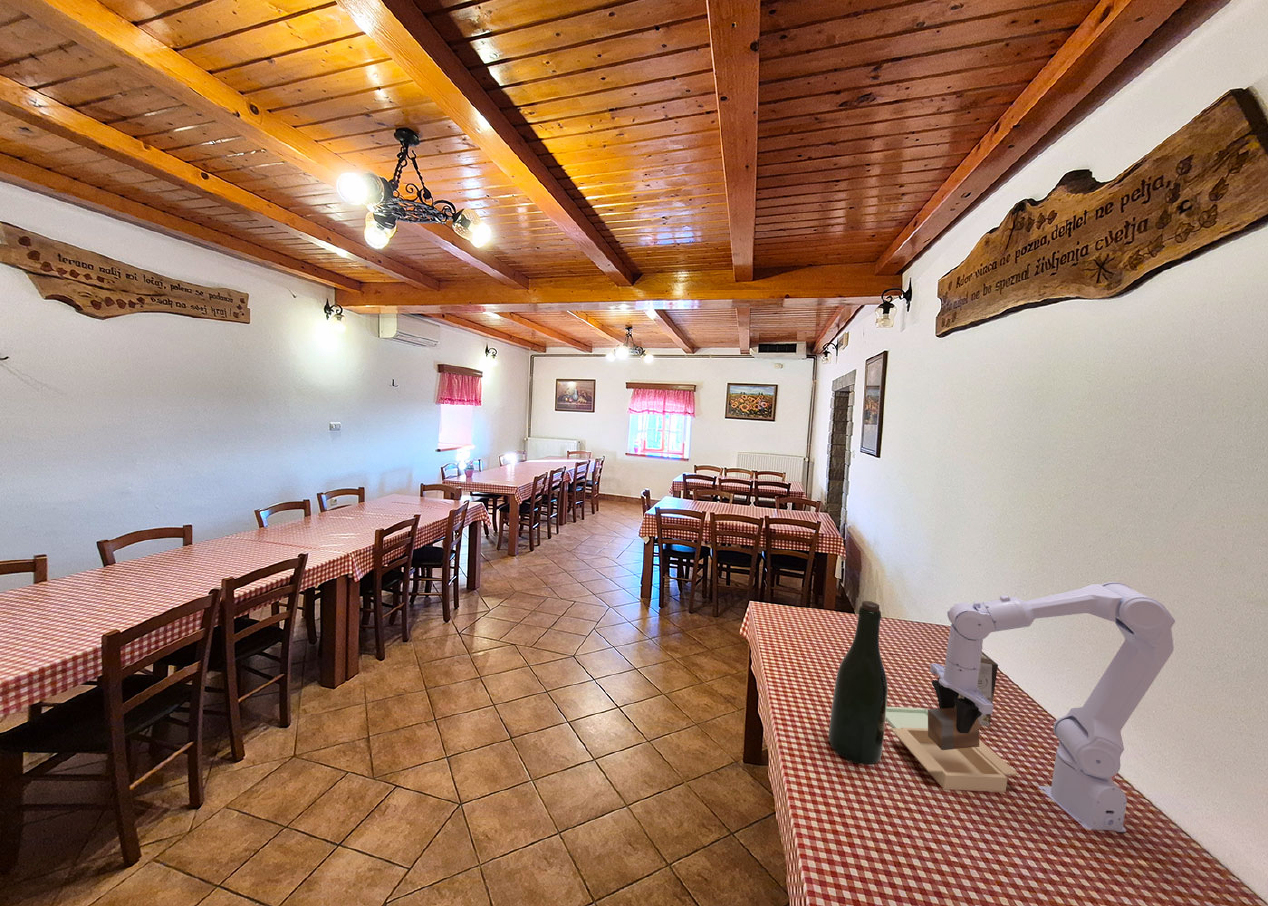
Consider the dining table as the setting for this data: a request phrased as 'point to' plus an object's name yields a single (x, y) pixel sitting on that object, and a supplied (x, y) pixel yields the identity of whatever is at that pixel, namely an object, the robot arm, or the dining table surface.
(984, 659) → the coffee box
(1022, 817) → the dining table surface
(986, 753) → the carton
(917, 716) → the green tray
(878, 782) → the dining table surface
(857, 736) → the beer bottle
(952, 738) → the walnut block
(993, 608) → the robot arm
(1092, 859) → the dining table surface
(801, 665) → the dining table surface
